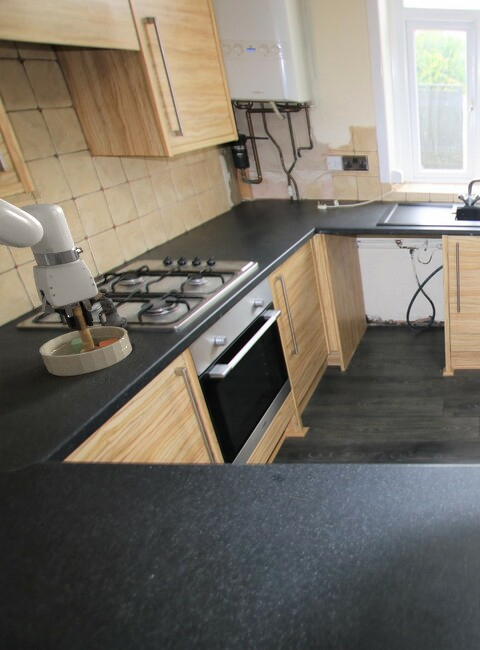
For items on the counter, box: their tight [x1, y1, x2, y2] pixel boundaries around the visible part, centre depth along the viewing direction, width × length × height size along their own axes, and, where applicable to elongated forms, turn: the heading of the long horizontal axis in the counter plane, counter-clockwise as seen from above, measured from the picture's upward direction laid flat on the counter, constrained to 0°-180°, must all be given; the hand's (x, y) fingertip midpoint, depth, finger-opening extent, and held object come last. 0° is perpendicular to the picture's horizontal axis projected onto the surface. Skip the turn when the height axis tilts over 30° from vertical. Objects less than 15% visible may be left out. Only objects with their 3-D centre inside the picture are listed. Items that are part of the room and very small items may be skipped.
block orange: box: [98, 338, 119, 349], centre depth 124 cm, size 4×4×4 cm
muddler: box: [71, 305, 100, 353], centre depth 119 cm, size 4×4×14 cm
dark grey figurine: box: [99, 295, 128, 329], centre depth 136 cm, size 6×6×12 cm
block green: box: [72, 335, 95, 354], centre depth 125 cm, size 4×4×4 cm
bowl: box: [38, 326, 133, 377], centre depth 123 cm, size 17×17×6 cm
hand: (82, 326), depth 119 cm, fingers closed on muddler, 2 cm apart
